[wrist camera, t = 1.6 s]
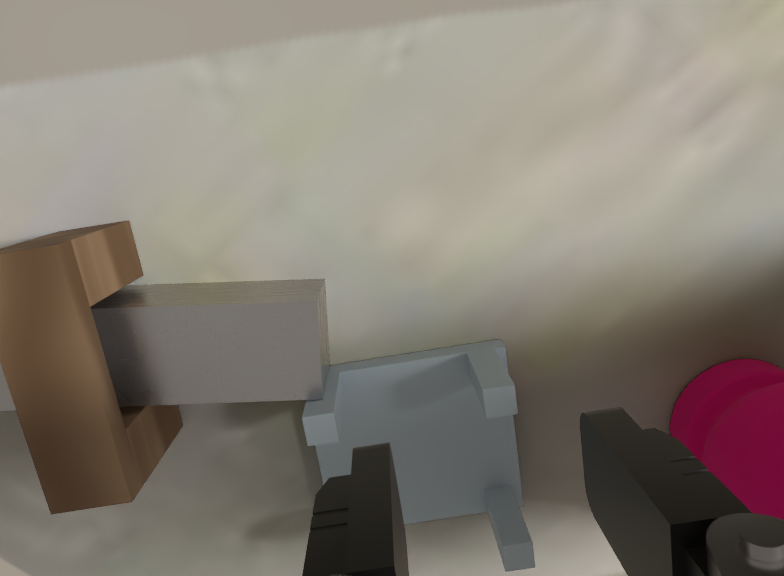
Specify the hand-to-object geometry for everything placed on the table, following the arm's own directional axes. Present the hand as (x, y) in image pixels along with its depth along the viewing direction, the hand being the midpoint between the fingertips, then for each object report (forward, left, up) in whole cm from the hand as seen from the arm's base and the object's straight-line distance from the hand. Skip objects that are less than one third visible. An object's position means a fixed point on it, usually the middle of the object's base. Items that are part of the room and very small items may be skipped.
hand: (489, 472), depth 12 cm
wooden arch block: (+14, 0, -15) cm, 20 cm away
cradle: (+2, +7, -15) cm, 17 cm away
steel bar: (+13, 0, -16) cm, 20 cm away
